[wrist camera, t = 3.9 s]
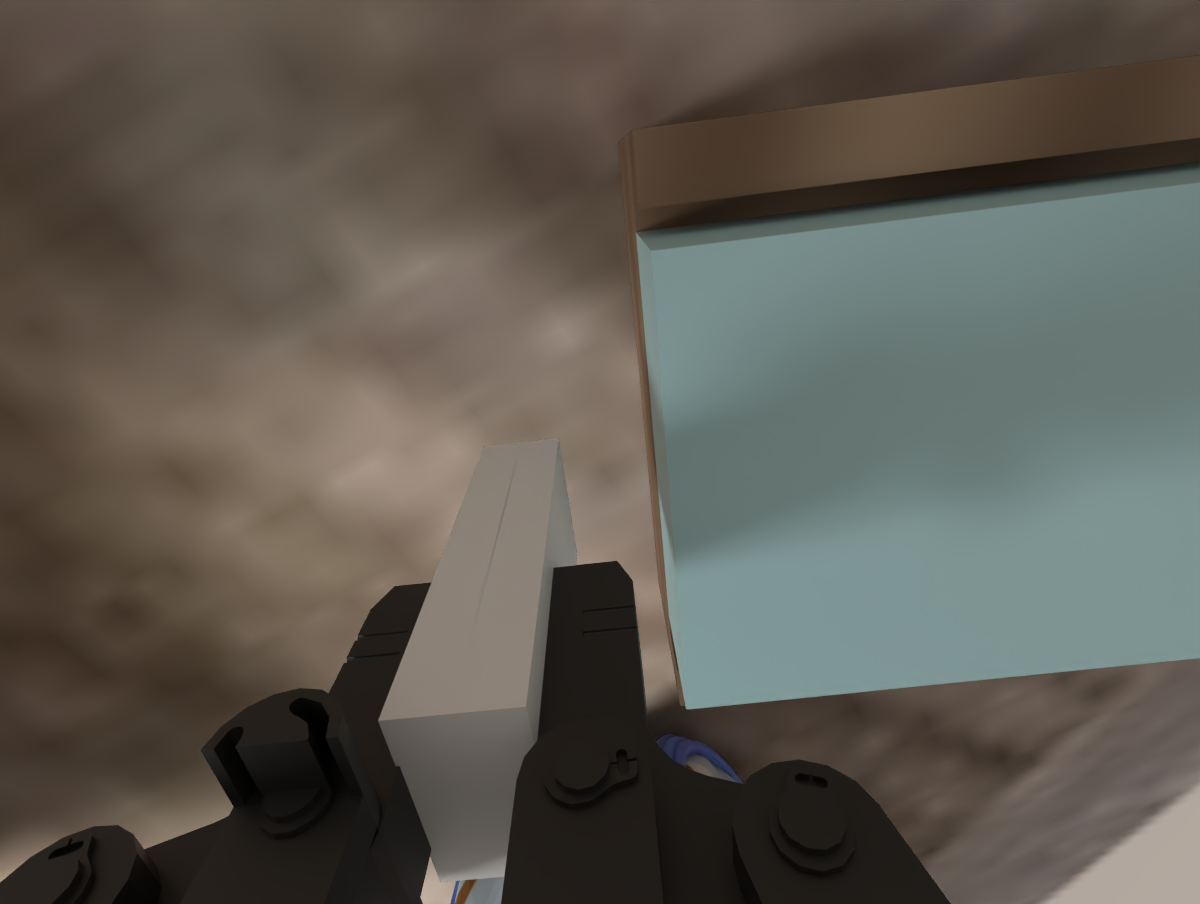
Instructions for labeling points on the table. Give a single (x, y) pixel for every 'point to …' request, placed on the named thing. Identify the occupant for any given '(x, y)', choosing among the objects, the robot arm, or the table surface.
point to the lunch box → (482, 897)
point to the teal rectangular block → (929, 436)
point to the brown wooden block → (898, 161)
